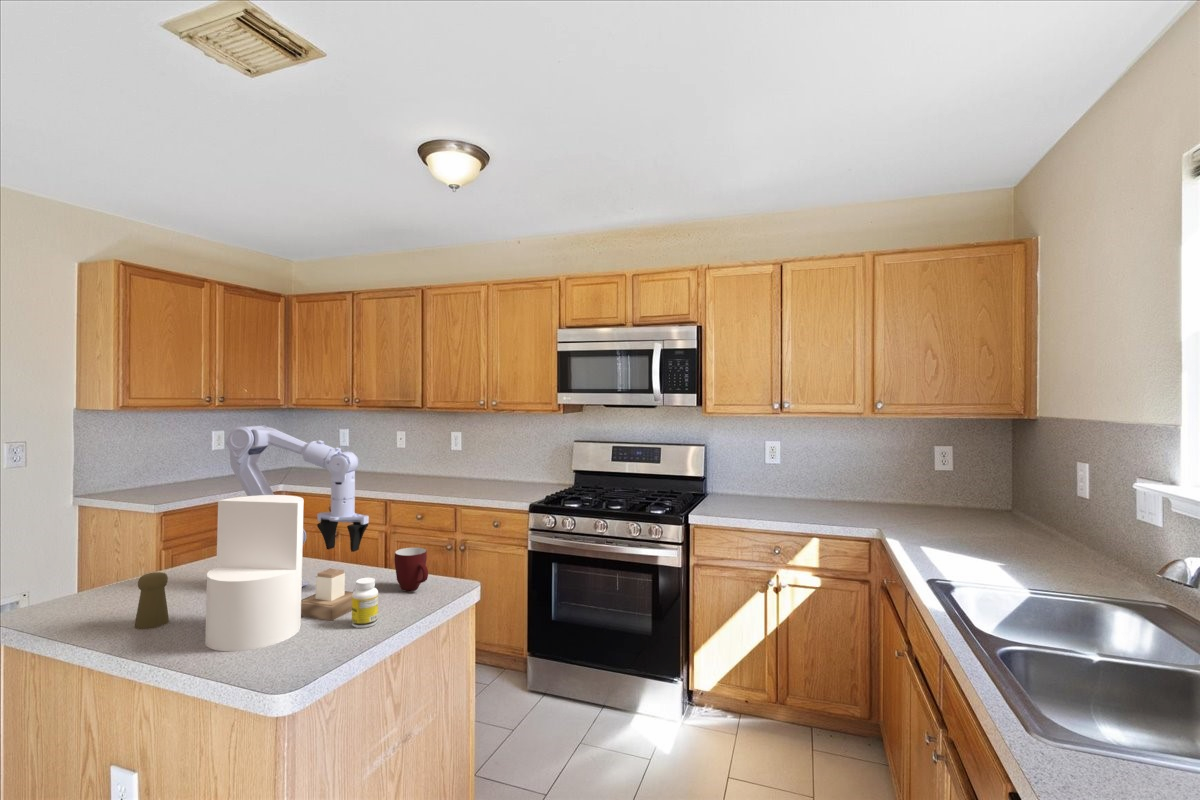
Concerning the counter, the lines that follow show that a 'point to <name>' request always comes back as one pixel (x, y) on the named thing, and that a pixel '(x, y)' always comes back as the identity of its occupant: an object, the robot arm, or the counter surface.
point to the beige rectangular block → (330, 584)
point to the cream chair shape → (255, 573)
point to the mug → (411, 567)
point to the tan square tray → (326, 607)
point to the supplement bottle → (365, 603)
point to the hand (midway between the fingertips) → (342, 549)
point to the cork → (152, 601)
